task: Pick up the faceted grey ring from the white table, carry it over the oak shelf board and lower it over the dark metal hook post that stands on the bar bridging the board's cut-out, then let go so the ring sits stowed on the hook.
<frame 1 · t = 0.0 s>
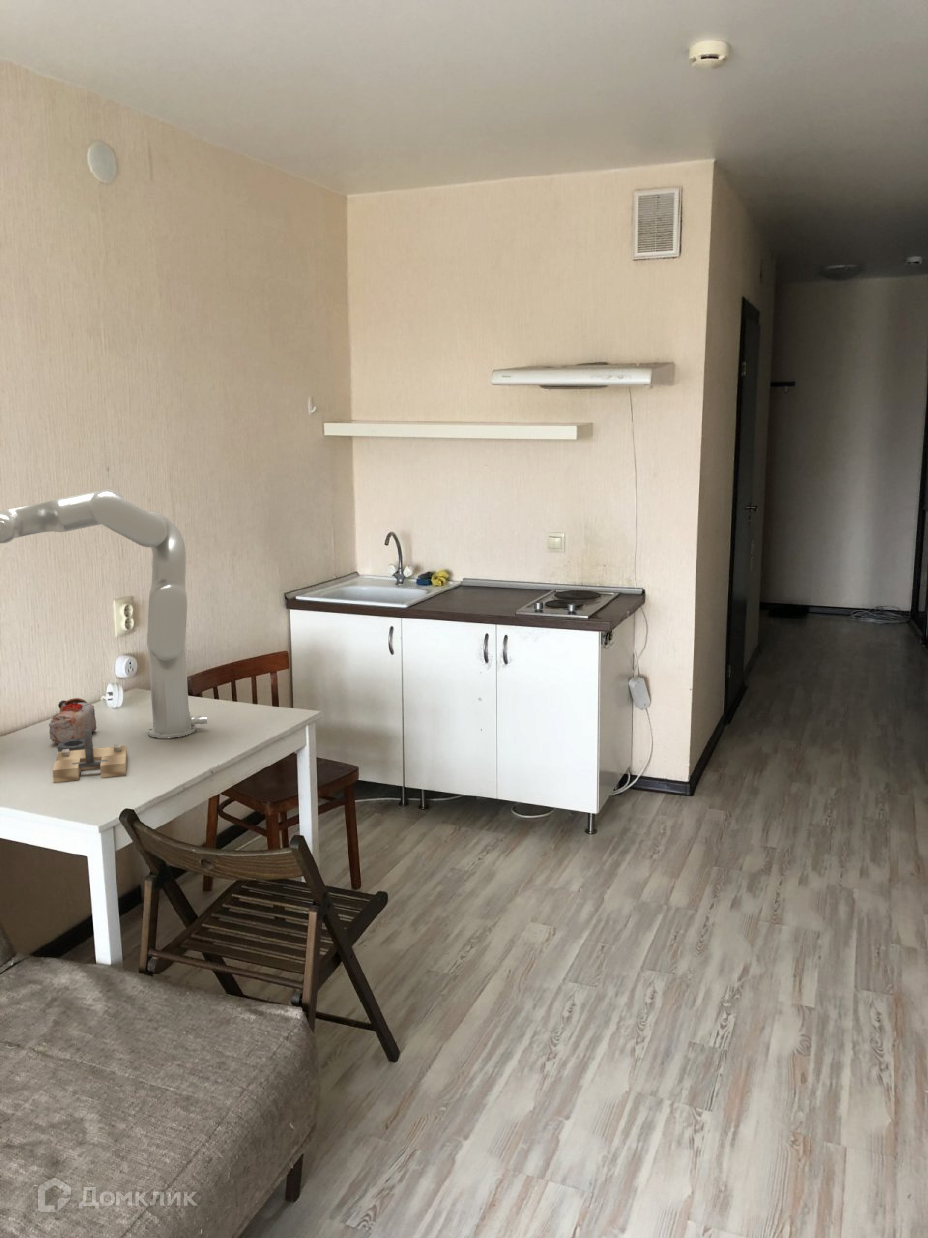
faceted grey ring: (74, 754, 251), on the table
food item: (74, 739, 264), on the table
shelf: (91, 769, 240), on the table
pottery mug: (75, 724, 278), on the table
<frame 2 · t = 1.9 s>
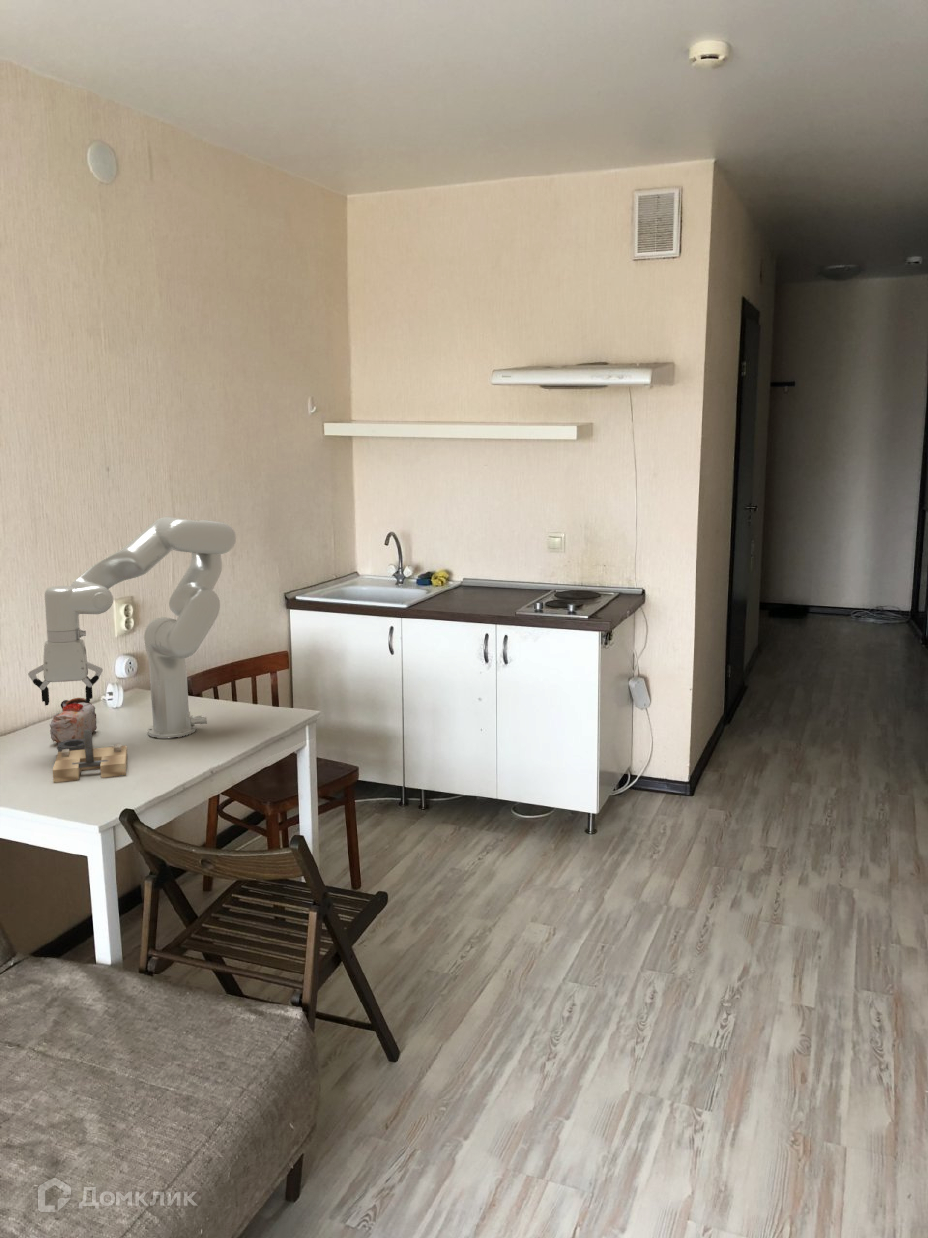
hand: (67, 702, 248), 14 cm above the table, tool pointing down, fingers open, 9 cm apart
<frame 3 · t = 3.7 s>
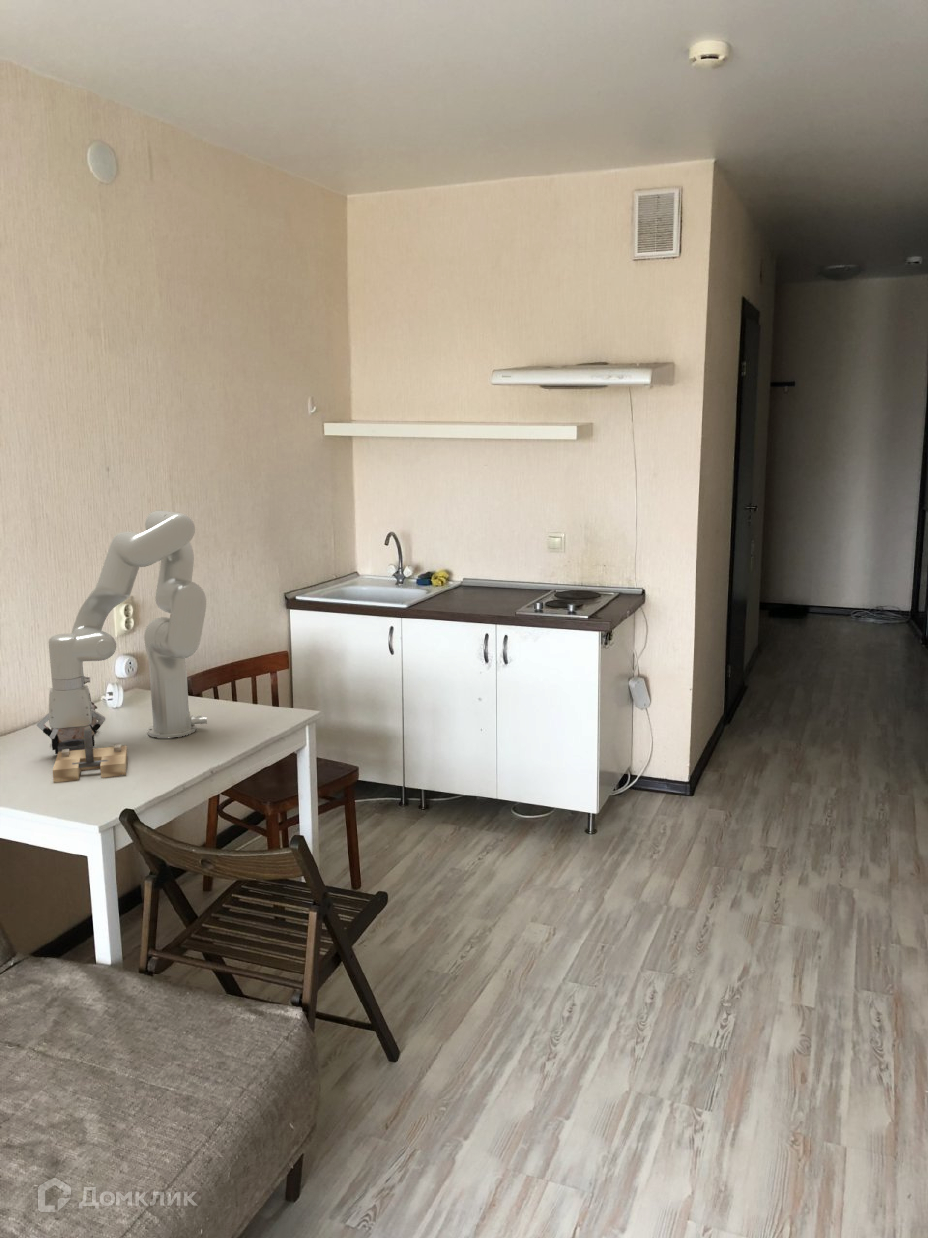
hand: (73, 750, 250), 1 cm above the table, tool pointing down, fingers closed on faceted grey ring, 7 cm apart
faceted grey ring: (74, 754, 251), on the table, touching gripper
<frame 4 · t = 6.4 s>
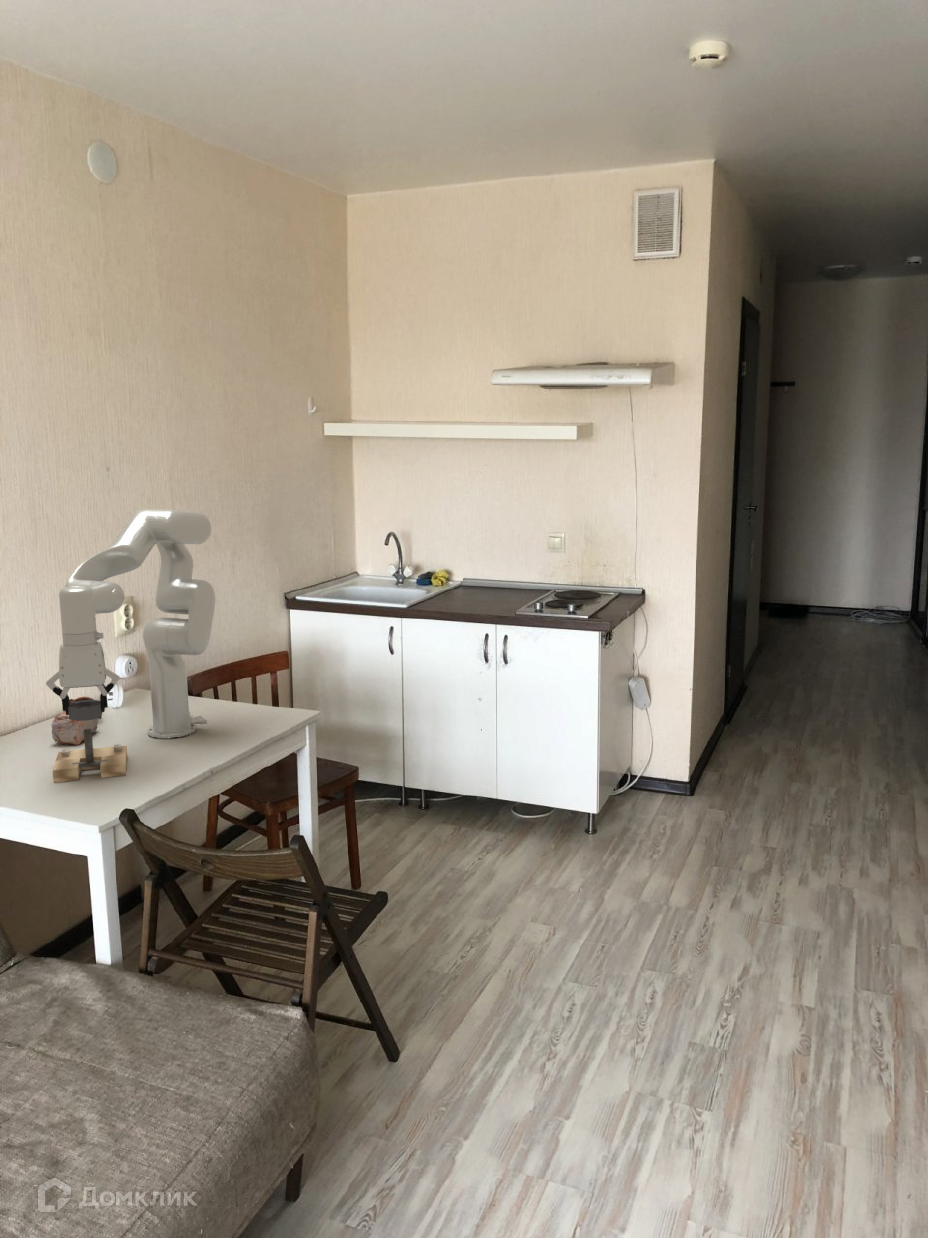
hand: (85, 711, 234), 16 cm above the table, tool pointing down, fingers closed on faceted grey ring, 7 cm apart
faceted grey ring: (85, 716, 234), point 14 cm above the table, touching gripper
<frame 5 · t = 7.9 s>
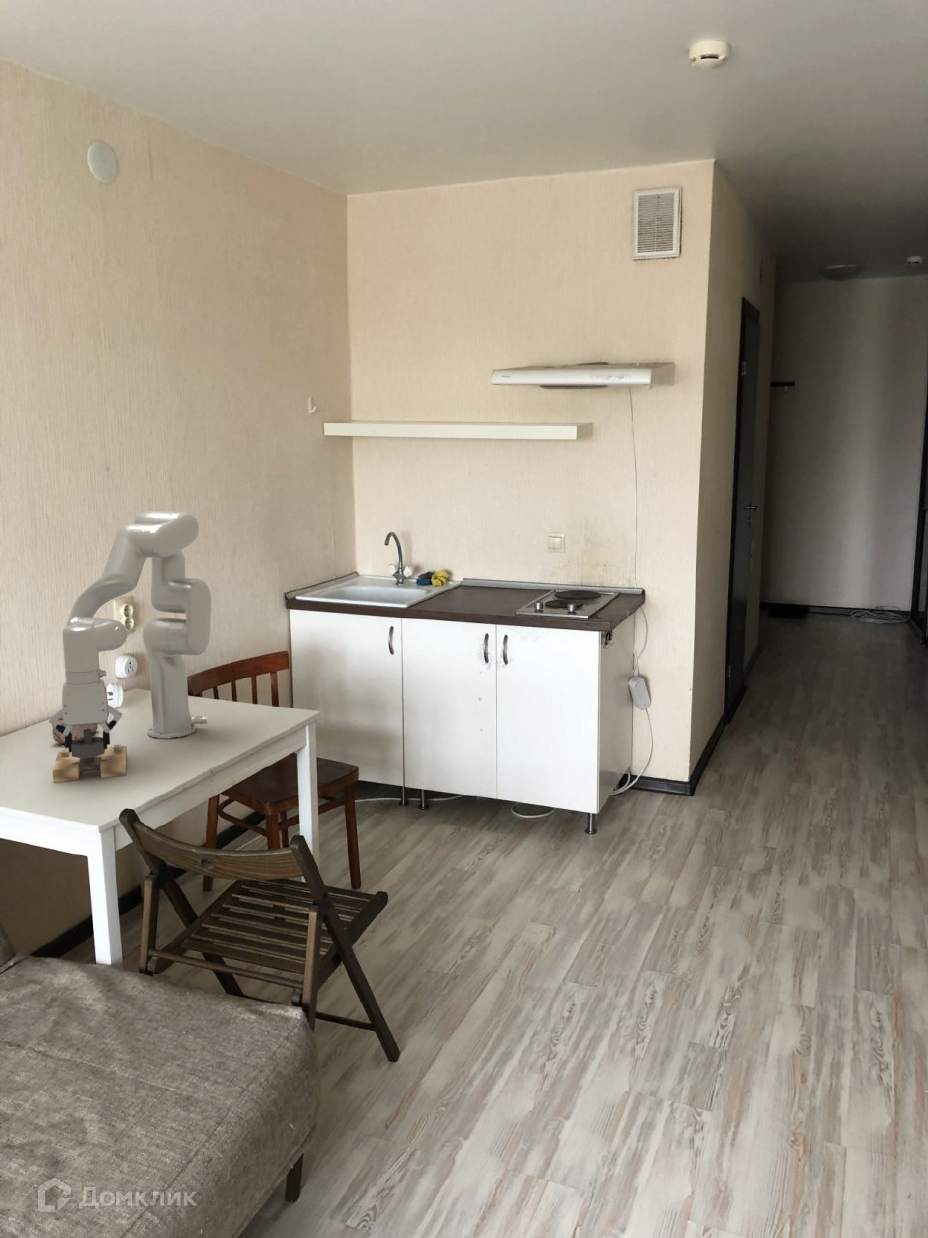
hand: (88, 748, 235), 6 cm above the table, tool pointing down, fingers closed on faceted grey ring, 7 cm apart
faceted grey ring: (88, 753, 235), point 5 cm above the table, touching gripper
when the fingers open (5 cm above the table, at t = 9.1 s): faceted grey ring drops 1 cm, resting on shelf.
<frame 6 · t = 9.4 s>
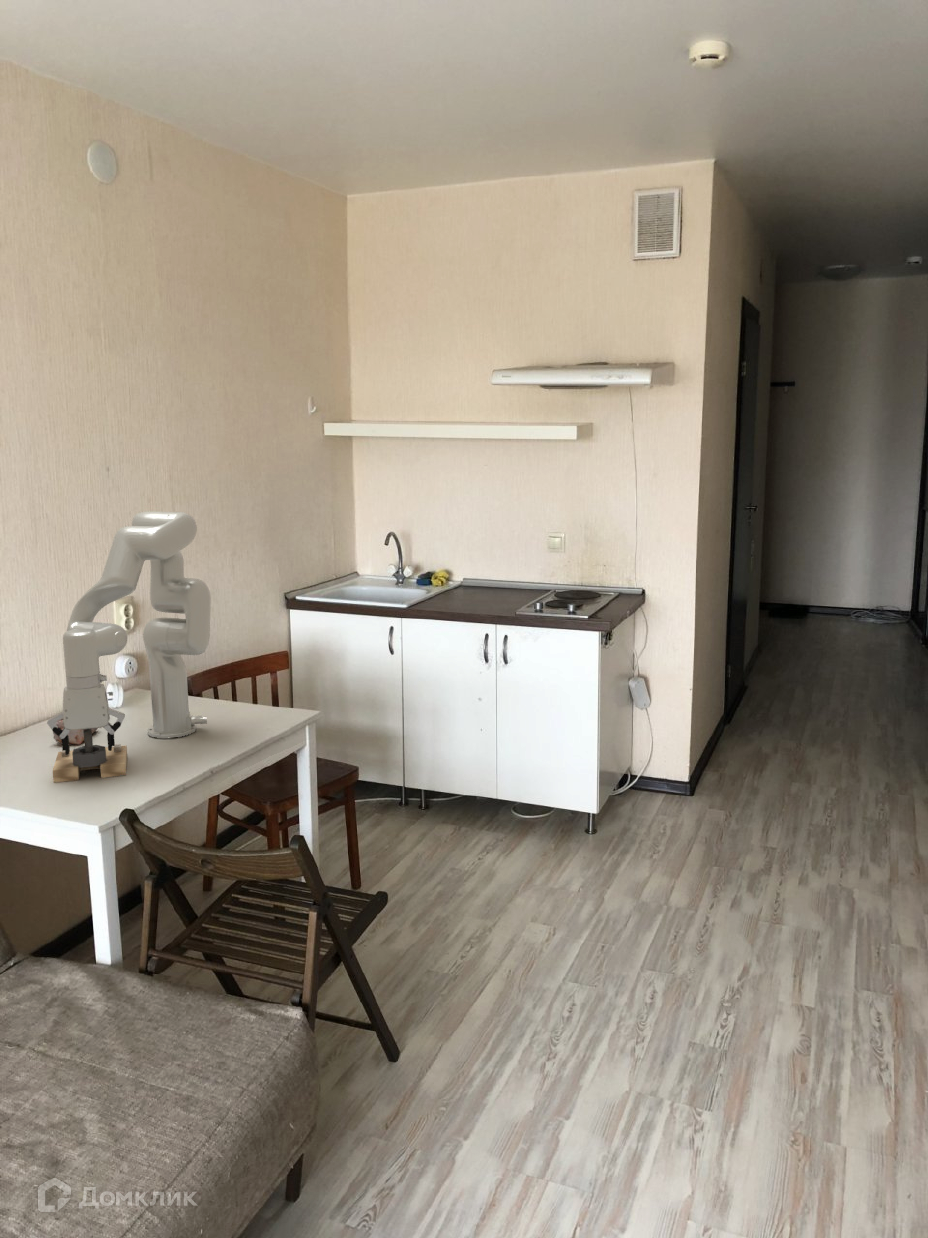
hand: (89, 751, 236), 6 cm above the table, tool pointing down, fingers open, 9 cm apart
faceted grey ring: (89, 762, 236), point 3 cm above the table, touching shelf
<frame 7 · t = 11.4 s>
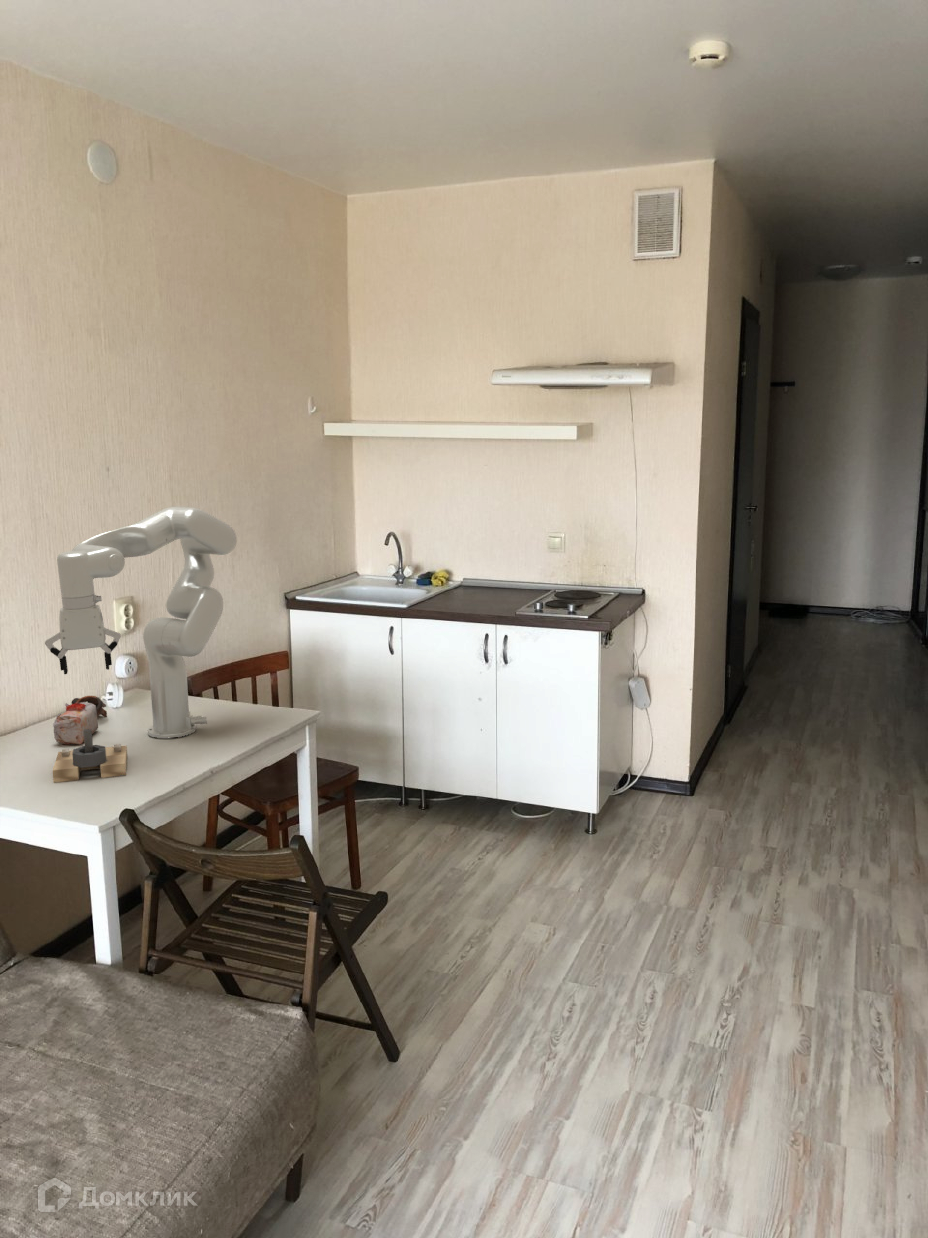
hand: (86, 670, 242), 23 cm above the table, tool pointing down, fingers open, 9 cm apart
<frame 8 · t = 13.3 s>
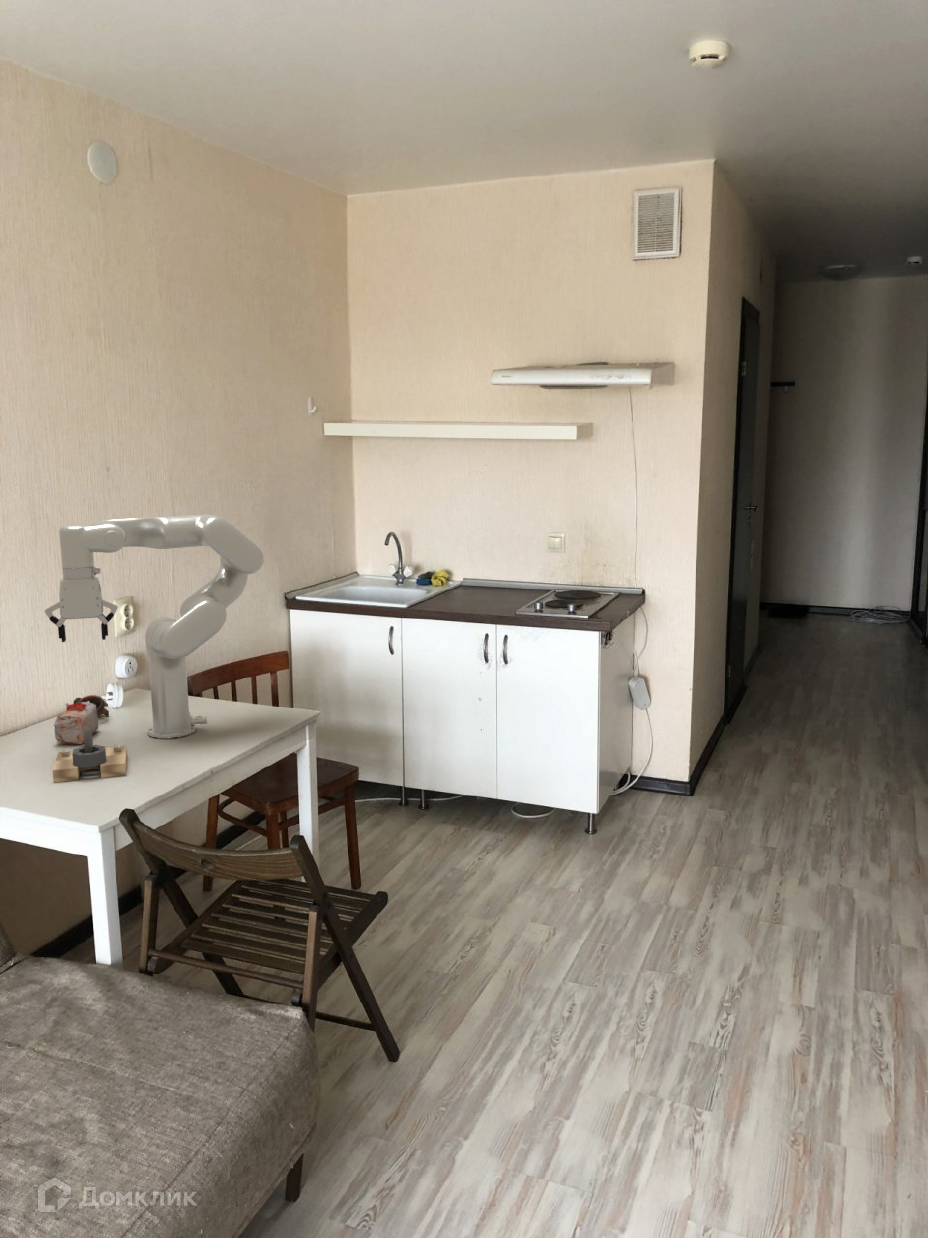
hand: (84, 640, 252), 28 cm above the table, tool pointing down, fingers open, 9 cm apart
at the end: faceted grey ring 0.1 cm from the target spot on the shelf, point 3.0 cm above the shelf's base; the gripper is holding nothing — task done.
